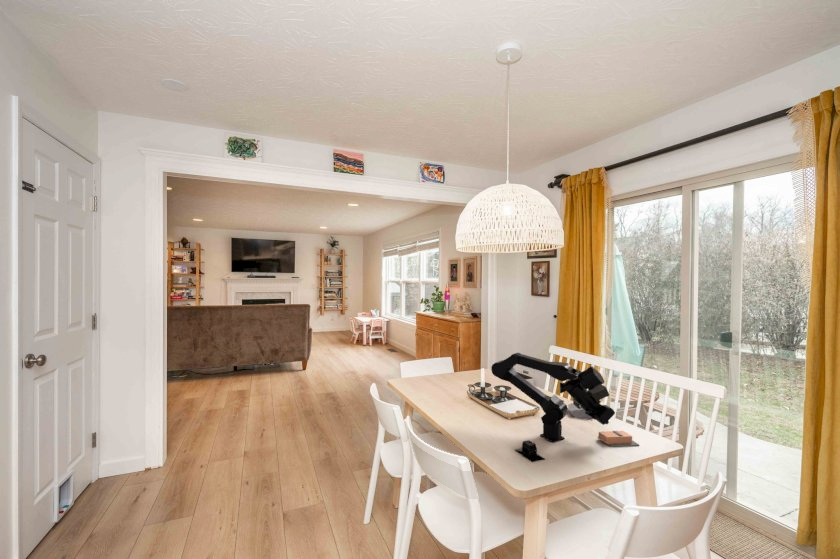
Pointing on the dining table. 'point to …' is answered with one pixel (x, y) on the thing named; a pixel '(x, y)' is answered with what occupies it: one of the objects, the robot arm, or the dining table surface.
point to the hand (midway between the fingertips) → (607, 423)
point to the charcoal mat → (623, 444)
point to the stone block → (577, 412)
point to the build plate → (529, 451)
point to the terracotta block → (615, 437)
